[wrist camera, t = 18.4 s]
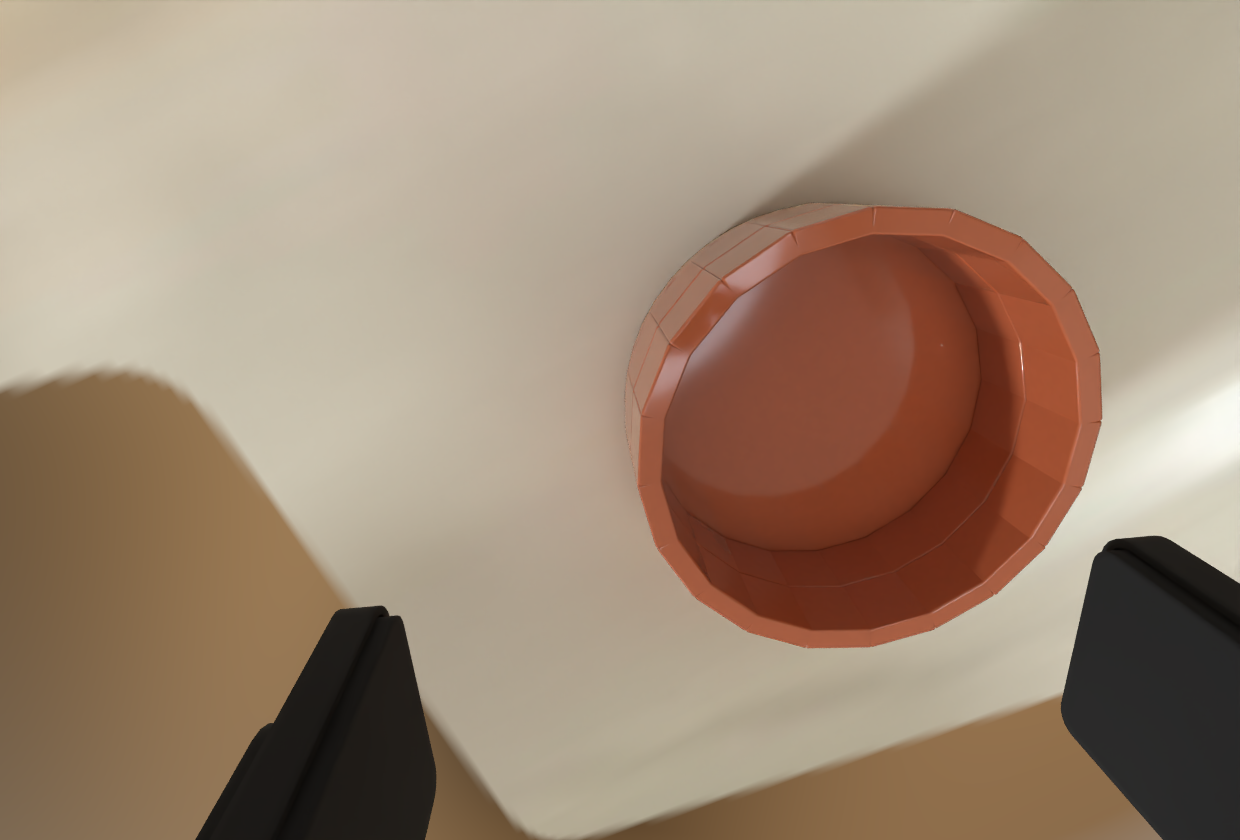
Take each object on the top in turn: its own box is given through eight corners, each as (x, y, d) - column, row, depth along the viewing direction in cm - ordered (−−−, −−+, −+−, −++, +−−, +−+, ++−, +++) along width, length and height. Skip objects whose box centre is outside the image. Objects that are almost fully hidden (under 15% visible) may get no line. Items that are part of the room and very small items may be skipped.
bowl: (631, 196, 21) (651, 197, 16) (1026, 209, 22) (1163, 216, 17) (618, 558, 26) (629, 651, 20) (948, 557, 27) (1038, 645, 21)
